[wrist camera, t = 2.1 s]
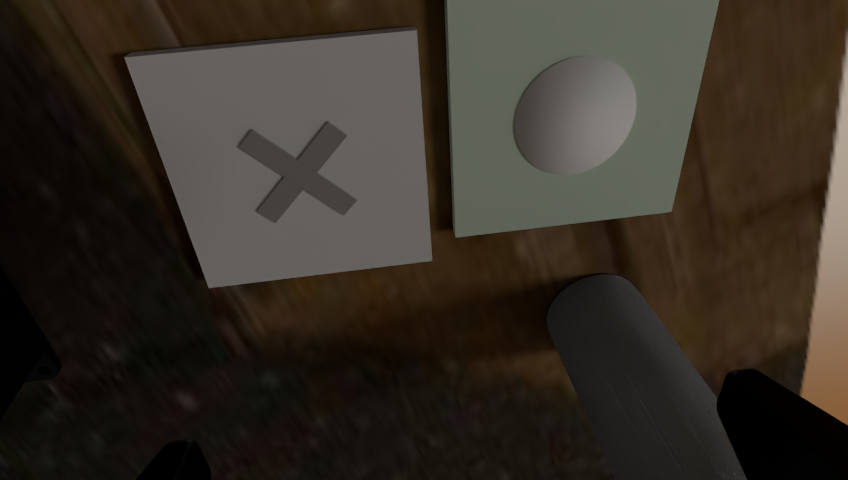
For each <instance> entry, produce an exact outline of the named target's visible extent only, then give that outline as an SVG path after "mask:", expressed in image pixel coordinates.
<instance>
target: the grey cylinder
mask: <svg viewBox="0 0 848 480" xmlns="http://www.w3.org/2000/svg"><path fill="white" fill-rule="evenodd" d="M547 328H548V330H549V333H550V336H551V338H552V341H553V343H554V345H555V347H556V349H557V352H558V354H559V356H560V358H561V360H562V363H563V365H564V367H565V369H566V371H567V374H568V376H569V378H570V380H571V382H572V384H573V387H574V389H575V391H576V393H577V395H578V398H579V400H580V402H581V404H582V406H583V408H584V411H585V413H586V415H587V417H588V419H589V422H590V424H591V426H592V428H593V430H594V432H595V435H596V437H597V439H598V441H599V443H600V446H601V448H602V450H603V452H604V454H605V457H606V459H607V461H608V463H609V465H610V467H611V470H612V472H613V474H614V476H615V478H616V480H747V479H746V477H745V474H744V472H743V470H742V468H741V465H740V463H739V461H738V459H737V456H736V454H735V452H734V450H733V447H732V445H731V443H730V441H729V438H728V436H727V434H726V432H725V429H724V427H723V425H722V423H721V420H720V418H719V416H718V413H717V407H716V405H717V398H716V396H715V395H714V394H713V392H712V391H711V389H710V388H709V387H708V385H707V384H706V383H705V381H704V380H703V379H702V377H701V376H700V374H699V373H698V372H697V370H696V369H695V368H694V366H693V365H692V364H691V362H690V361H689V359H688V358H687V357H686V355H685V354H684V353H683V351H682V350H681V348H680V347H679V346H678V344H677V343H676V342H675V340H674V339H673V338H672V336H671V335H670V333H669V332H668V331H667V329H666V328H665V327H664V325H663V324H662V323H661V321H660V320H659V318H658V317H657V316H656V314H655V313H654V312H653V310H652V309H651V307H650V306H649V305H648V303H647V302H646V301H645V299H644V298H643V297H642V295H641V294H640V293H639V291H638V290H637V289H636V288H635V287H634V286H633V284H632V283H631V282H629V281H628V280H626V279H624V278H622V277H619V276H616V275H607V274H602V275H594V276H590V277H586V278H583V279H581V280H579V281H576V282H574V283H573V284H571V285H569V286H568V287H567V288H565V289H564V290H563V291H562V292H561V293H560V294H559V295H558V296H557V297H556V298H555V299H554V301H553V302H552V304H551V306H550V308H549V310H548V314H547Z"/></svg>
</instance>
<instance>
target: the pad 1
mask: <svg viewBox="0 0 848 480" xmlns="http://www.w3.org/2000/svg"><path fill="white" fill-rule="evenodd" d="M124 58H125V61H126V64H127V66H128V69H129V72H130V75H131V77H132V80H133V83H134V86H135V88H136V91H137V94H138V96H139V99H140V102H141V105H142V107H143V110H144V113H145V115H146V118H147V121H148V124H149V126H150V129H151V132H152V135H153V137H154V140H155V143H156V145H157V148H158V151H159V154H160V156H161V159H162V162H163V165H164V167H165V170H166V173H167V175H168V178H169V181H170V184H171V186H172V189H173V192H174V195H175V197H176V200H177V203H178V205H179V208H180V211H181V214H182V216H183V219H184V222H185V224H186V227H187V230H188V233H189V235H190V238H191V241H192V244H193V246H194V249H195V252H196V254H197V257H198V260H199V263H200V265H201V268H202V271H203V274H204V276H205V279H206V282H207V284H208V287H209V288H213V287H221V286H229V285H238V284H246V283H254V282H262V281H270V280H279V279H287V278H295V277H303V276H311V275H320V274H328V273H336V272H344V271H352V270H361V269H369V268H377V267H385V266H393V265H402V264H410V263H418V262H426V261H432V250H431V235H430V220H429V205H428V191H427V176H426V161H425V146H424V131H423V116H422V101H421V86H420V72H419V57H418V42H417V30H416V28H415V26H412V27H401V28H391V29H380V30H369V31H358V32H347V33H337V34H326V35H315V36H304V37H294V38H283V39H272V40H261V41H250V42H240V43H229V44H218V45H207V46H197V47H186V48H175V49H164V50H153V51H143V52H132V53H130V54H128V55H127V56H126V57H124Z"/></svg>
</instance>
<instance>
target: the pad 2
mask: <svg viewBox="0 0 848 480" xmlns="http://www.w3.org/2000/svg"><path fill="white" fill-rule="evenodd" d="M718 3H719V0H444V8H445V34H446V60H447V85H448V111H449V137H450V163H451V188H452V214H453V231H454V234H455V237H464V236H473V235H481V234H489V233H498V232H506V231H515V230H523V229H531V228H540V227H548V226H556V225H565V224H573V223H582V222H590V221H598V220H607V219H615V218H624V217H632V216H640V215H649V214H657V213H665V212H671V211H672V207H673V203H674V198H675V194H676V189H677V185H678V180H679V176H680V172H681V167H682V163H683V158H684V154H685V149H686V145H687V141H688V136H689V132H690V127H691V123H692V118H693V114H694V109H695V105H696V101H697V96H698V92H699V87H700V83H701V78H702V74H703V70H704V65H705V61H706V56H707V52H708V47H709V43H710V39H711V34H712V30H713V25H714V21H715V16H716V12H717V8H718Z"/></svg>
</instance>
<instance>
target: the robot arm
mask: <svg viewBox="0 0 848 480" xmlns="http://www.w3.org/2000/svg"><path fill="white" fill-rule="evenodd" d="M47 367H48V368H47ZM61 367H62V364H61V361H60V360H59V358H58V357H57V355H56V353H55V352H54V350H53V349H52V347H51V345H50V344H49V342H48V341H47V339H46V337H45V336H44V334H43V333H42V331H41V329H40V328H39V326H38V325H37V323H36V321H35V320H34V318H33V317H32V315H31V313H30V312H29V310H28V309H27V307H26V305H25V304H24V302H23V301H22V299H21V297H20V296H19V294H18V293H17V291H16V289H15V288H14V286H13V285H12V283H11V281H10V280H9V278H8V277H7V275H6V273H5V272H4V270H3V269H2V267H1V265H0V419H1V417H2V416H3V414H4V413H5V411H6V410H7V408H8V407H9V405H10V404H11V402H12V401H13V399H14V398H15V396H16V395H17V393H18V392H19V390H20V388H21V387H22V385H23V384H24V382H30V381H37V380H45V379H51V378H54V377H56V376H57V374H58V373H59V371H60V369H61ZM716 407H717V413H718V416H719V418H720V420H721V423H722V425H723V427H724V429H725V432H726V434H727V436H728V438H729V441H730V443H731V445H732V447H733V450H734V452H735V454H736V456H737V459H738V461H739V463H740V465H741V468H742V470H743V472H744V474H745V477H746V479H747V480H848V425H846V424H845V423H843V422H841V421H839V420H838V419H836V418H835V417H833V416H831V415H830V414H828V413H827V412H825V411H823V410H822V409H820V408H818V407H817V406H815V405H814V404H812V403H810V402H809V401H807V400H805V399H804V398H802V397H801V396H799V395H797V394H796V393H794V392H792V391H791V390H789V389H788V388H786V387H784V386H783V385H781V384H779V383H778V382H776V381H774V380H773V379H771V378H770V377H768V376H766V375H765V374H763V373H761V372H760V371H758V370H755V369H741V370H733V371H730V372H729V373H728V374H727V375H726V377H725V380H724V382H723V385H722V388H721V391H720V393H719V396H718V399H717V405H716ZM136 480H211V472H210V468H209V465H208V463H207V461H206V459H205V457H204V455H203V453H202V451H201V449H200V447H199V445H198V443H197V442H196V441H195V440H193V439H186V440H178V441H172V442H169V443H168V444H166V445H165V446H164V447H163V448H162V449H161V451H160V452H159V453H158V454H157V455H156V456H155V458H154V459H153V460H152V461H151V462H150V464H149V465H148V466H147V467H146V468H145V470H144V471H143V472H142V473H141V474H140V476H139V477H138V478H137V479H136Z"/></svg>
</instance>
